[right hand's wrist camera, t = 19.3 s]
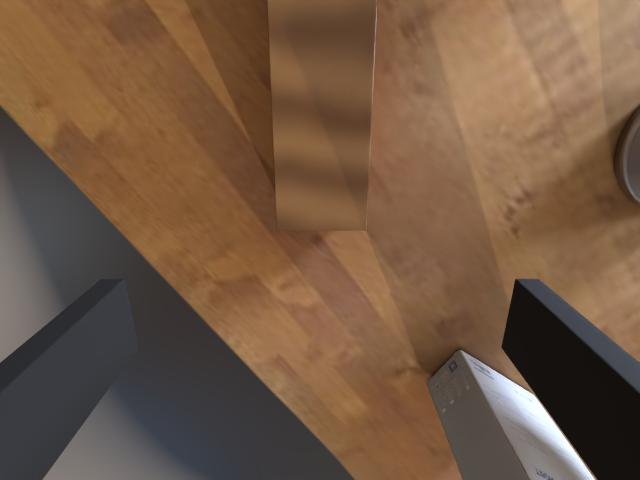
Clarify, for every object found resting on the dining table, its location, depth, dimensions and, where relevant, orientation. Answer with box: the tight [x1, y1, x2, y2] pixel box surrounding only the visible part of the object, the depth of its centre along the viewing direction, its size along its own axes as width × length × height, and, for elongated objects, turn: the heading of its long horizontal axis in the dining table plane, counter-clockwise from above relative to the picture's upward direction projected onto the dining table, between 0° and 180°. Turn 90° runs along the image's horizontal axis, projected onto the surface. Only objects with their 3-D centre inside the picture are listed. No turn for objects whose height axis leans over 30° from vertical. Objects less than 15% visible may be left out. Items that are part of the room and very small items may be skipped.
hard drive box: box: [427, 350, 595, 480], centre depth 47 cm, size 16×8×20 cm, turn 56°
